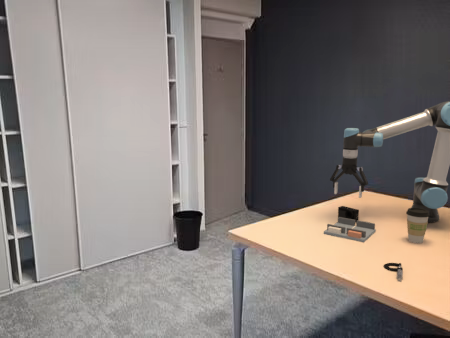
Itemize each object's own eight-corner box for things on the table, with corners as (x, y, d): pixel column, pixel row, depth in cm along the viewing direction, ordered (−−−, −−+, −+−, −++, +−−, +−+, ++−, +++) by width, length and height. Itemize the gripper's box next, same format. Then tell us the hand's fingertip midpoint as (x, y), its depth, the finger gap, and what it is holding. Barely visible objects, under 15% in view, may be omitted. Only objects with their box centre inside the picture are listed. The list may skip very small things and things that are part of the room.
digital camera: (336, 219, 215) (336, 207, 214) (342, 217, 218) (342, 205, 217) (352, 223, 207) (353, 211, 206) (358, 221, 210) (358, 209, 209)
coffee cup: (418, 246, 175) (420, 214, 173) (399, 239, 184) (401, 209, 181) (432, 242, 180) (434, 211, 177) (413, 235, 188) (415, 206, 186)
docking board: (375, 231, 195) (376, 223, 194) (363, 242, 181) (364, 233, 180) (337, 224, 207) (337, 216, 206) (323, 233, 193) (323, 225, 192)
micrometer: (383, 263, 159) (384, 257, 158) (402, 266, 156) (403, 260, 155) (381, 279, 145) (382, 272, 145) (402, 282, 142) (403, 276, 142)
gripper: (325, 155, 211) (323, 193, 215) (371, 160, 196) (368, 200, 200) (330, 154, 217) (328, 190, 220) (376, 158, 202) (373, 197, 205)
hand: (347, 195), depth 210 cm, fingers open, 13 cm apart
